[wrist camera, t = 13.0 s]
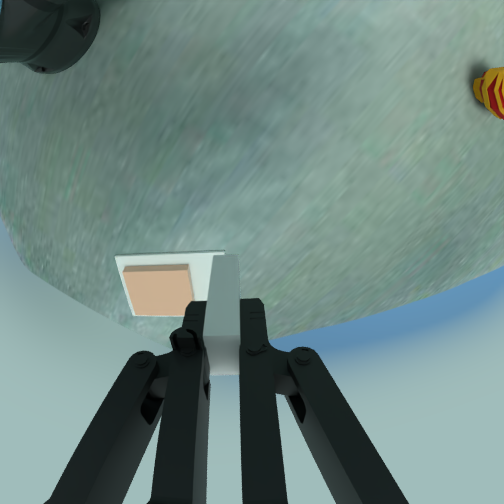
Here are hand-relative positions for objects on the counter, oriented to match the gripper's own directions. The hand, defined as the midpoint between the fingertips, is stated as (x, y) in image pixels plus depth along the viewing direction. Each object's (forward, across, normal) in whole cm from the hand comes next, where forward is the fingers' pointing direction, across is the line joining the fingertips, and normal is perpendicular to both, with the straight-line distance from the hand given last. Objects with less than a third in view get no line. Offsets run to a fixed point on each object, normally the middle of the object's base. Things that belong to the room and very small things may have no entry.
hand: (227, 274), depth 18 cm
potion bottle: (+29, +47, +19) cm, 58 cm away
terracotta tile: (+27, -8, -21) cm, 35 cm away
